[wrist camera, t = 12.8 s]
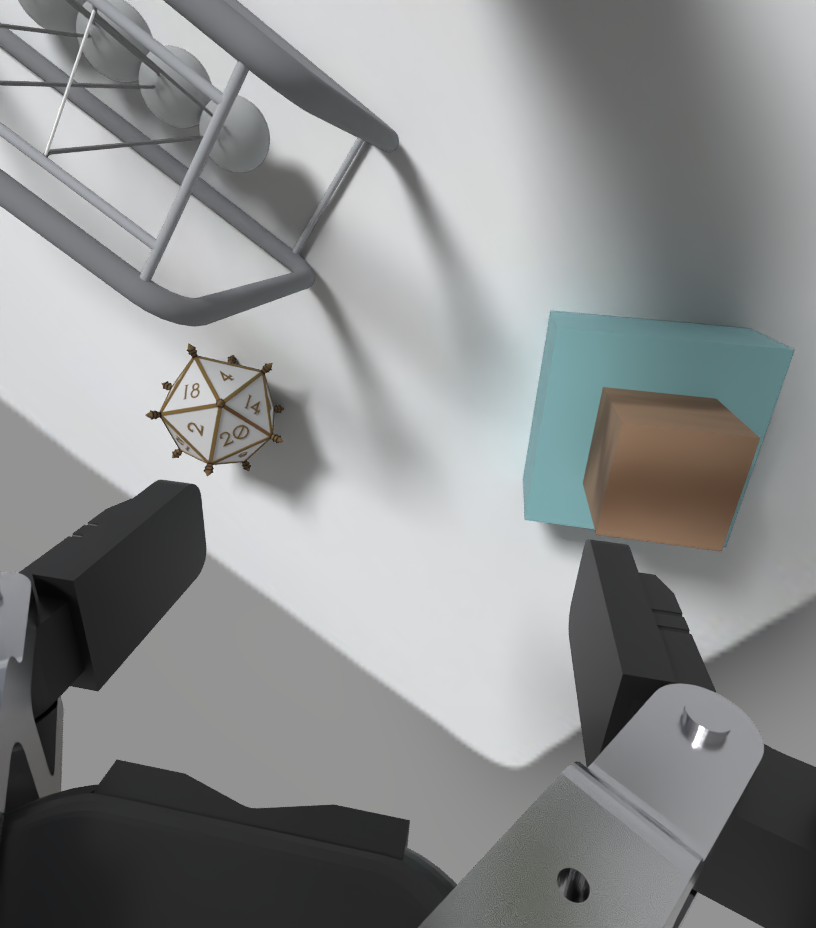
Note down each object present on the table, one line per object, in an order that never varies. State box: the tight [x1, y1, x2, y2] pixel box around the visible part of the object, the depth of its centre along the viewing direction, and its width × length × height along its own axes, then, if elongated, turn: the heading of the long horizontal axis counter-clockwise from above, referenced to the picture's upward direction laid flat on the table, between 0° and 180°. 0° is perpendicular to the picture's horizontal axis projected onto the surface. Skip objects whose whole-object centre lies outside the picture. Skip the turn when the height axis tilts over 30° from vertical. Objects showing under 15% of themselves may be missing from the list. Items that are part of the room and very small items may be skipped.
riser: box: [523, 311, 794, 547], centre depth 35 cm, size 12×12×6 cm
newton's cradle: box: [0, 0, 399, 326], centre depth 26 cm, size 30×10×18 cm, turn 54°
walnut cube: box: [583, 387, 760, 551], centre depth 29 cm, size 6×6×6 cm
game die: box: [146, 344, 283, 476], centre depth 38 cm, size 9×8×10 cm
